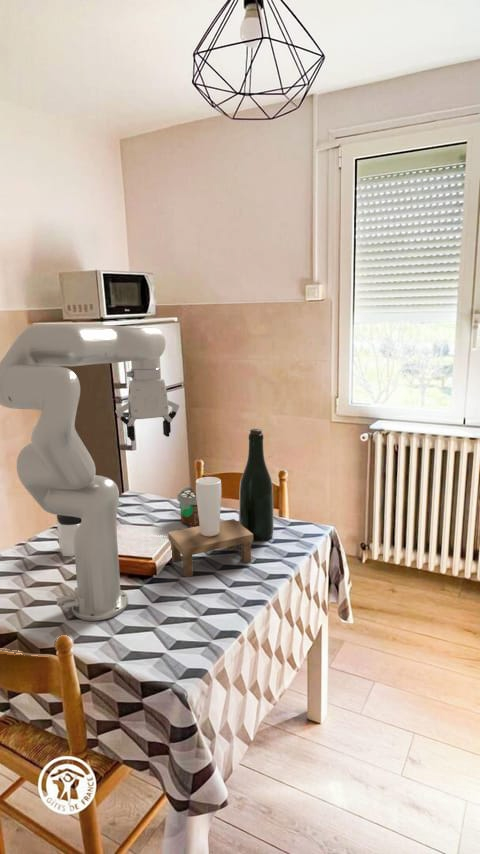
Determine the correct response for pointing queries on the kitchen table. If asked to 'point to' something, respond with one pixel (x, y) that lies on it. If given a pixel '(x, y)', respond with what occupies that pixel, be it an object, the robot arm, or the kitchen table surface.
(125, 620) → the kitchen table surface
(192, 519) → the food container
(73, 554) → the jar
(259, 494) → the dark green wine bottle
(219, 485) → the drinking glass
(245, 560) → the footstool
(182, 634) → the kitchen table surface
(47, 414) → the robot arm
